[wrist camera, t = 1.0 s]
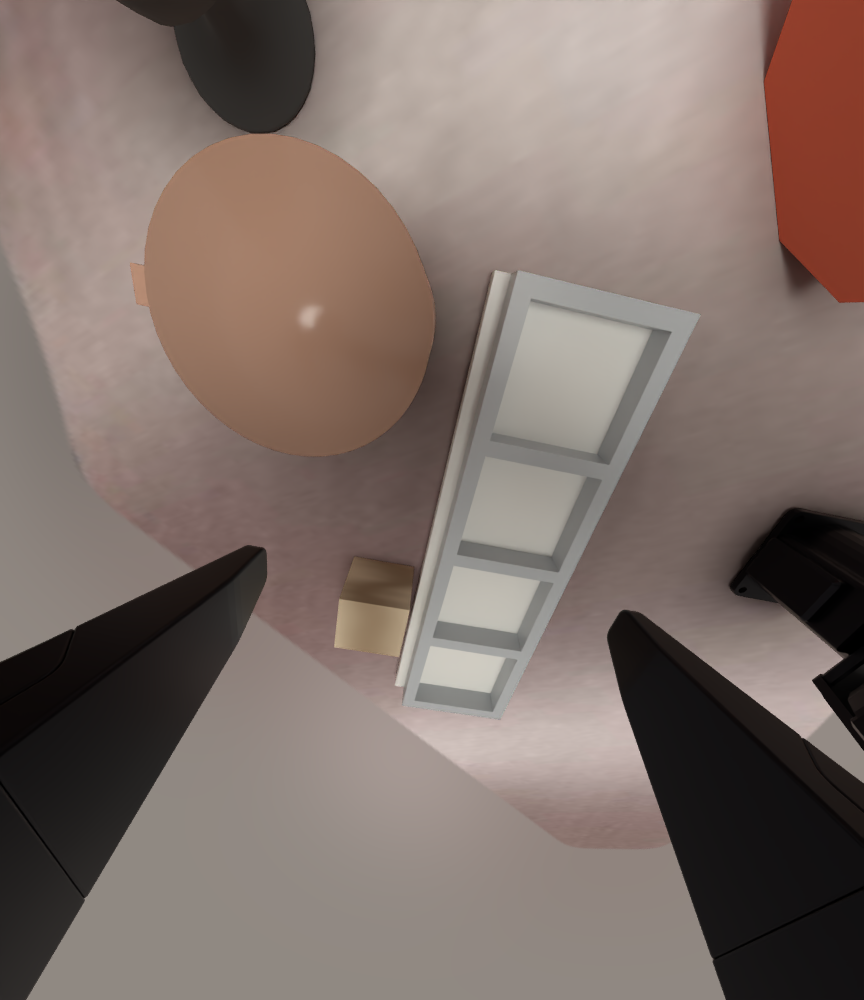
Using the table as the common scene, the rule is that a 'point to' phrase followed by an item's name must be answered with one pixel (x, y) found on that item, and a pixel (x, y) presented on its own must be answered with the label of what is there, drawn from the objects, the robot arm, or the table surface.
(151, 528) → the table surface
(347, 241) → the terracotta mug
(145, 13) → the sundae
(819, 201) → the french fries container
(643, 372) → the board
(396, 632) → the beech block
